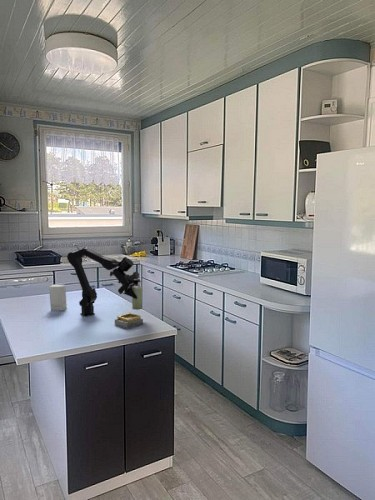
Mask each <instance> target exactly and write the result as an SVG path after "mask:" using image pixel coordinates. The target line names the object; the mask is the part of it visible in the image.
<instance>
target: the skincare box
mask: <svg viewBox="0 0 375 500" xmlns="http://www.w3.org/2000/svg"><path fill="white" fill-rule="evenodd" d="M48 287H49V288H48V290H49V291H48V292H49V303H50V311H51V312H53V311H54V312H55V311H59V312H61V311H63V312H64V310H67V308H68V307H67V293H66V292H67V291H66V289H67V288H66V284H52V285H50V286H48Z"/></svg>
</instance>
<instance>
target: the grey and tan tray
mask: <svg viewBox="0 0 375 500" xmlns="http://www.w3.org/2000/svg"><path fill="white" fill-rule="evenodd" d="M143 325H144V319H143V318H142V317H141V315H138V314H135V313H133V312H129V313H124V314H121V315H117V317H116V319H114V326H117V327H120V328H123V329H126V330H129V329H132V328H135V327H139V326H143Z"/></svg>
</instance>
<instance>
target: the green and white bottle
mask: <svg viewBox="0 0 375 500" xmlns="http://www.w3.org/2000/svg"><path fill="white" fill-rule="evenodd" d="M132 290H133V292H134V293H135V294H136V296H137V299H135V298H133V297H131V303H132V304H131V305H132V306H131V309H132V310H136V311H138V310H142V309H143V287H142V286H141V282H138V286H133V288H132Z"/></svg>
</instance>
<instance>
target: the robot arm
mask: <svg viewBox="0 0 375 500" xmlns="http://www.w3.org/2000/svg"><path fill="white" fill-rule="evenodd" d="M83 257H87V258H89V259H91V260H93V261H95V262H97V263H99V264H101V266H102V267H103V268H104V269H105V270H107V271H110V272H109V277H112V276H114V277H115V279H116V280H117V283H118V284H120V285H121V286H120V287H119V288H118V289H117V292H118V294H119V295H122V294H123V295H125V296H129V297H131V298H132V297H133V298H135V299H137V296H136V294H135V293H134V292H133V290H132V288H133V286H138V282H140V283H141V282H142V281H141V279H140V273H139V272H138V271H134V272H133V273H132V274H127V272H128V271H129V270H130V269H131V268H132V267H133V266H134V264H135V263H134V262H133V260H131V259H130V258H128V257H127V256H124V257H123V258H122V259H121V261H118V260H117V259H115V258H111V257H106V256H103V255H101V254H100V253H98V252H96V251H94V250H92V249H90V248H89V247H84V248H81V249H78V250H75V251H70V252H68V254H67V256H66V259H67V261H68V262H69V264H70V265H71V266H72V267H73V269H74V271H75V273H76V276H77V279H78V282H79V285H80V286H81V287H80V288H81V296H82V299H81V300H79V302H78V304H79V306H80V307H81V309H80V310H81V311H80V312H81V313H79V315H80V316H81V315H82V316H84V317H89V316H93V315H95V314H96V313H95V306H94V304H95V302H96V300H97V298H98V293H97V291H96V288H92V287H91V285H90V282H89V279H88V277H87V274H86V271H85V269H84V266H83Z"/></svg>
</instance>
